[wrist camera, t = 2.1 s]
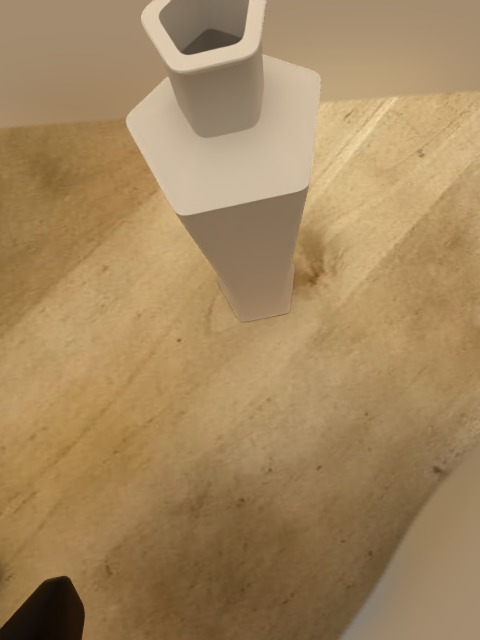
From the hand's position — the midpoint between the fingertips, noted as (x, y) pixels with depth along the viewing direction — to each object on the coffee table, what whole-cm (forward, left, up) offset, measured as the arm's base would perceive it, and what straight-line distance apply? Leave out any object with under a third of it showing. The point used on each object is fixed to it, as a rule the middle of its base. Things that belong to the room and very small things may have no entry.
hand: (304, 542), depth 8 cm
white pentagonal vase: (+9, -1, -12) cm, 15 cm away
